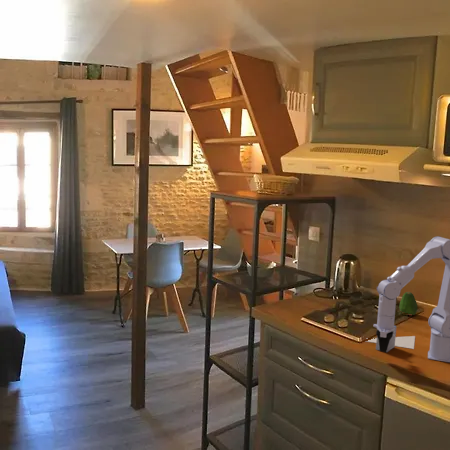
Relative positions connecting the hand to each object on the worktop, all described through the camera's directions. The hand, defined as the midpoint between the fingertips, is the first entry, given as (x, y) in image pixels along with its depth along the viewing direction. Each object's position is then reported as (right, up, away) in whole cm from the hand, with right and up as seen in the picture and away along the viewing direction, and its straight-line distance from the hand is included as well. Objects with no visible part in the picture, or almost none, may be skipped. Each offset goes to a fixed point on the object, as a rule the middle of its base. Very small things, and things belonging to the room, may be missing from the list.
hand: (383, 351), depth 180 cm
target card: (+10, 0, +24) cm, 26 cm away
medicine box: (+4, -2, +10) cm, 11 cm away
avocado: (+29, +2, +55) cm, 62 cm away
